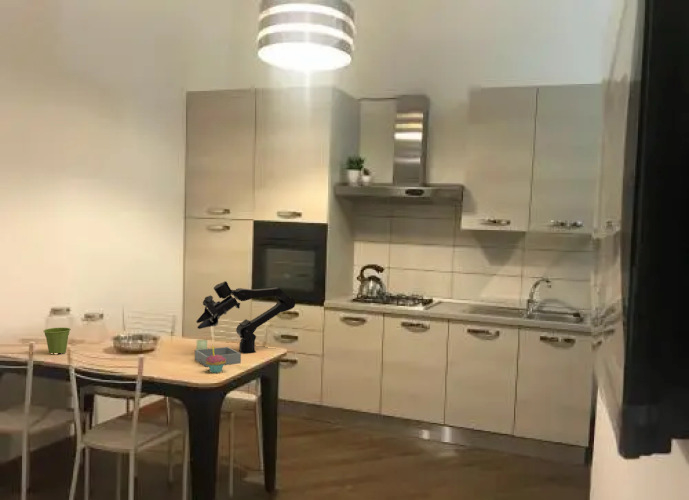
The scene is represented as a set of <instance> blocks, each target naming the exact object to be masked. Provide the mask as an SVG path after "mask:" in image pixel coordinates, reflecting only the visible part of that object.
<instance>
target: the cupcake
mask: <svg viewBox="0 0 689 500" xmlns="http://www.w3.org/2000/svg"><path fill="white" fill-rule="evenodd" d="M211 348H212V350H213V355H211V356H209V357H208V358H207V359H206V364H207V365H208V366H209V367H208V369H209V372H210V373H213V374H217V373H221V372H222V371H223V367H224V366H225V365H224V364H225V363H226V359H225V357H223V356H221V355H215V354H214V348H215V347H214V345H213V343H212V345H211Z"/></svg>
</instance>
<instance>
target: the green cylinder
mask: <svg viewBox="0 0 689 500" xmlns="http://www.w3.org/2000/svg"><path fill="white" fill-rule="evenodd" d="M201 349H208V339H198V340H196V350H201Z"/></svg>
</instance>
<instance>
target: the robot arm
mask: <svg viewBox="0 0 689 500" xmlns="http://www.w3.org/2000/svg"><path fill="white" fill-rule="evenodd" d="M213 290H214V292H215V293H216V295H217V296H218V299H222V300H221V301H220V300H219V301H215V300H214V297H213V296H212V295H208V296H205V297H204V300H203V301H202V305H203V306H204V311H203V313H202V314H201V315H200V316H199V318H198V319H197V320H195V321H196V323H197V324H199V323H200V324H199V325H198V326H197V329H198V330H200V329H206V328H210V327H217V326H218V325H219V319H220V318H221V317H222V316H223V315H227V313H228V312H229V311H230V310H232V309H233V308H234V307H235V308H236V309H238V310H239V309H240V307H241V303H240V302H238V301H241V302H246V301H249V300H253V299H254V298H265V297H266V298H267V297H275V299H277V302H276V304H274V306H272V307H270V308H269V309H267V310H266V311H264V312H263V313H261V314H260V315H257V316H256V317H255V318H253V319H252V320H248V319H244V320H243V321H241V322H239V323H238V325H237V326H236V330H235V331H236V333H237V335H238V336H239V338H240V341H239V346H238V347H239V350H238V352H239V353H241V354H251V353H256V352H257V351H256V349H255V345H256V342H255V341H256V339H257V335H255V334H254V332H255V331H256V330H257V328H260V327H261V326H262V325H263V324H265V323H267V322H269V320H271V319H273V318H274V317H276V316H278V315H279V314H281V313H284V312H288V311H289V310H292V309H293V308H295V306H296V300H295V299H294V298H293V297H290V296H289V295H288V294H286V293H285V292H284V291H283V290H282V289H281V288H280V287H276V286H275V287H271V288H269V287H268V288H259V289H257V288H256V289H255V288H254V289H249V288H244V287H243V288H241V287H239V288H238V287H237V288H235V289H231V287H230V286H229V283H228V282H227V281H226V280H224V281H223V282H220V283H218V284H216V285H214V287H213ZM237 300H238V301H237Z"/></svg>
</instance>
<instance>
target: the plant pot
mask: <svg viewBox="0 0 689 500" xmlns="http://www.w3.org/2000/svg"><path fill="white" fill-rule="evenodd" d="M70 331H71V328H70V327H52V328H46V329H43V330H42V332H43V333H44V336H45V339H46V343H47V344H46V345H47V349H48V354H50V353H63V354H65V353H64V352H66V353H67V347H68V341H69V340H68V339H69V335H70Z"/></svg>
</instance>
